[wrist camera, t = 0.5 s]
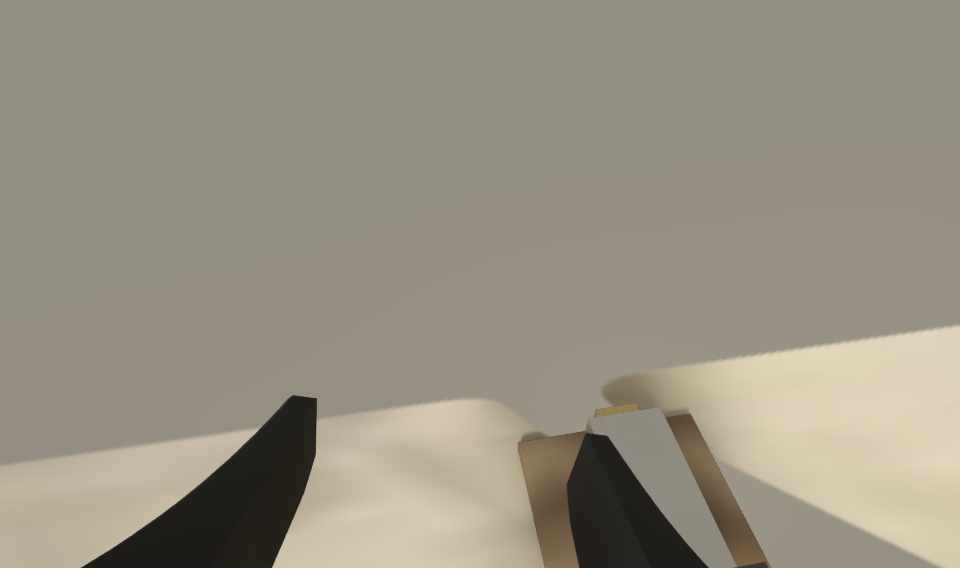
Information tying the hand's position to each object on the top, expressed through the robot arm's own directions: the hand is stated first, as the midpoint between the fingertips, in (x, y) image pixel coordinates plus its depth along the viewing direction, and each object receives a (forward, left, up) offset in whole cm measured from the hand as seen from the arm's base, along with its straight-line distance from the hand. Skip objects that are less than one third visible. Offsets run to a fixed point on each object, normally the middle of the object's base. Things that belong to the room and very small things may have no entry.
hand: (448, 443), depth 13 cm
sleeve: (+3, -10, -18) cm, 21 cm away
